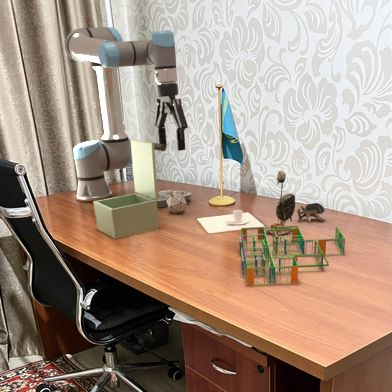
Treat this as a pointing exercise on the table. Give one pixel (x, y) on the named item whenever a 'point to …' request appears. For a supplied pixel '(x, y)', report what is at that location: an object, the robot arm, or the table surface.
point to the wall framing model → (295, 239)
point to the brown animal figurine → (311, 211)
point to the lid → (145, 167)
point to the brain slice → (166, 194)
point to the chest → (126, 215)
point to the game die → (176, 202)
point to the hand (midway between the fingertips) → (172, 148)
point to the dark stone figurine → (283, 205)
